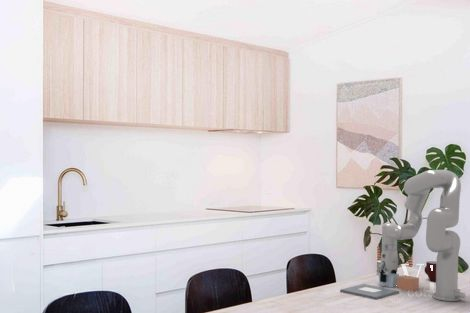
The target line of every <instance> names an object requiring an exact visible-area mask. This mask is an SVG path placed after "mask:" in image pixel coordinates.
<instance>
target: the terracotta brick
mask: <svg viewBox="0 0 470 313" xmlns="http://www.w3.org/2000/svg"><path fill="white" fill-rule="evenodd" d="M398 288H399V289H398ZM397 289H398V290H404V291H409V292H415V291H418V290H420V278H419V277H416V276H411V275H405V274H404V275H399V277H398V286H397Z"/></svg>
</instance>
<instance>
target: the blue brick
mask: <svg viewBox="0 0 470 313" xmlns="http://www.w3.org/2000/svg"><path fill="white" fill-rule="evenodd" d="M399 276H400V274H399V273H397V274H394V273H389V272H386V282H380V273H379V275H378V286H384V287H386V288H388V287H389V288H396V287H397V286H396V285H398V277H399ZM395 286H396V287H395Z"/></svg>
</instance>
